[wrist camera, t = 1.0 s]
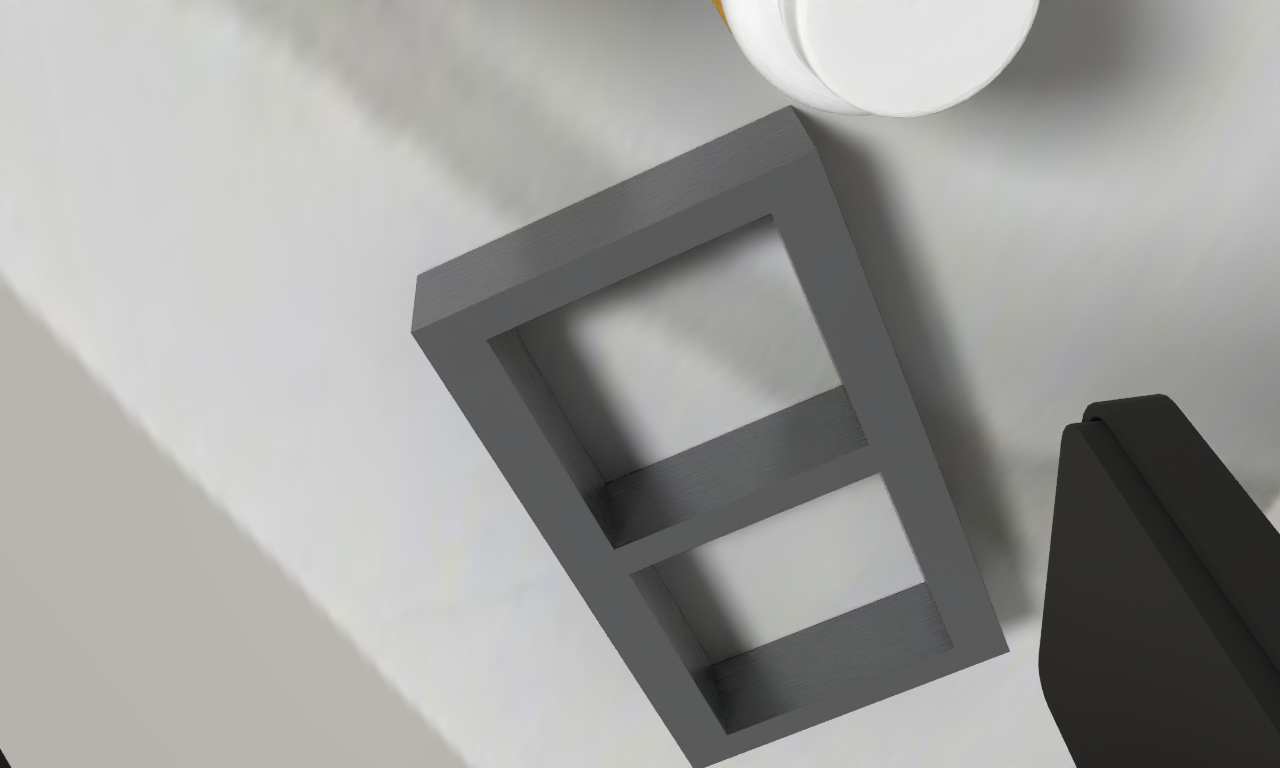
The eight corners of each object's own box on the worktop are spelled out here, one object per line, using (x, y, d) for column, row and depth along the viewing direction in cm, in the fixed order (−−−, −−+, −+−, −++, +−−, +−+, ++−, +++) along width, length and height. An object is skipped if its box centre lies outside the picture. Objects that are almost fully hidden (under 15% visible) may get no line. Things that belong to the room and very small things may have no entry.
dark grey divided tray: (417, 275, 32) (410, 332, 29) (790, 105, 30) (816, 149, 28) (682, 700, 41) (695, 771, 39) (977, 585, 40) (1009, 651, 37)
